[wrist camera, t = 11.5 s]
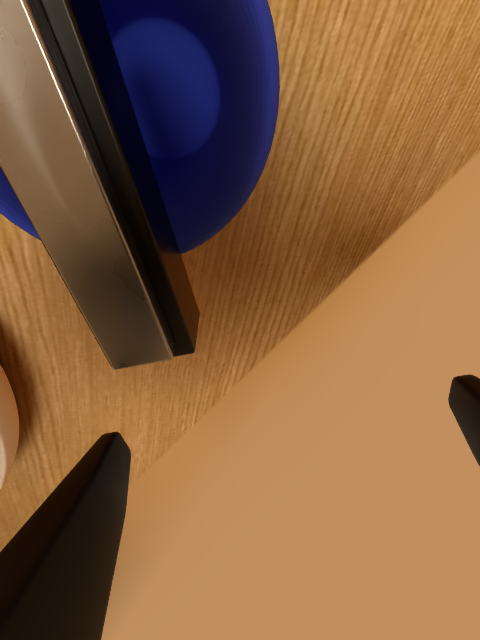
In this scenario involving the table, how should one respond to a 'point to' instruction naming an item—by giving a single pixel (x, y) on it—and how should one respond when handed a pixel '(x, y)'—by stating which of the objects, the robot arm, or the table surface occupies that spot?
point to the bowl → (7, 427)
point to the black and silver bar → (91, 180)
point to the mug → (194, 104)
